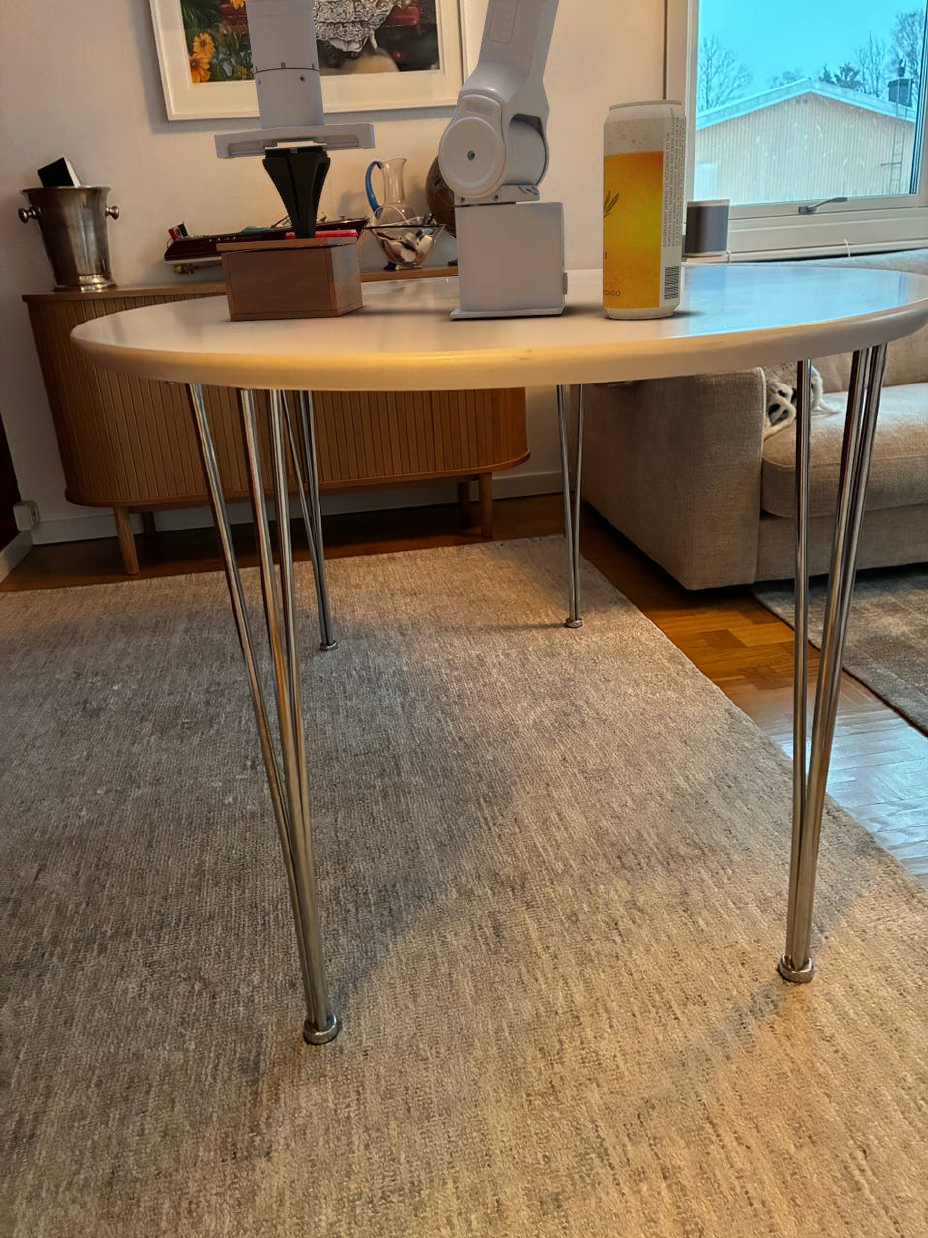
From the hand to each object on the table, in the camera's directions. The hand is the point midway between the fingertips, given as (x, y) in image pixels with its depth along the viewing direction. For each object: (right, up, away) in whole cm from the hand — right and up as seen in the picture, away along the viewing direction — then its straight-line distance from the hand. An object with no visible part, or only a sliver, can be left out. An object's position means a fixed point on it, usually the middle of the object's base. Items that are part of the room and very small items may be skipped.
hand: (305, 239), depth 88 cm
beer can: (+29, -12, -13) cm, 34 cm away
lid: (-2, 0, +3) cm, 4 cm away
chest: (-2, -5, +6) cm, 8 cm away
